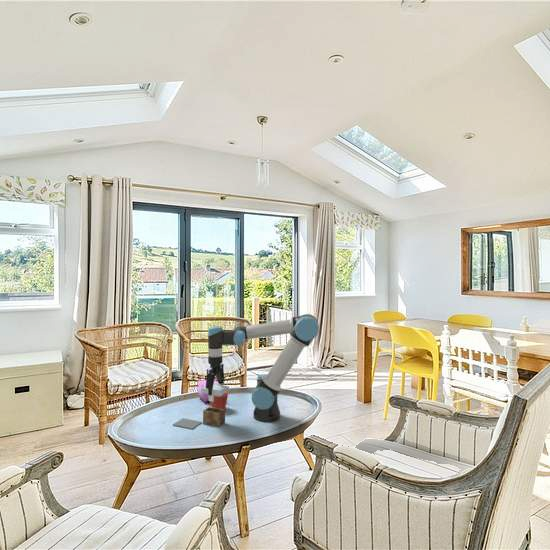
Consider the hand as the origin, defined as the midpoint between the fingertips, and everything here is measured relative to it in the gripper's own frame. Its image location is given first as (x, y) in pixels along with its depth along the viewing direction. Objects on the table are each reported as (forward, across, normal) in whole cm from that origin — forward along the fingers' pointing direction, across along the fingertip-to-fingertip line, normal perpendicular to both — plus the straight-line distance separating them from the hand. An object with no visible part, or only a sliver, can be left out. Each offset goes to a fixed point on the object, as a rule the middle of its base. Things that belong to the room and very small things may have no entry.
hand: (215, 398), depth 197 cm
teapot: (+13, -29, -22) cm, 38 cm away
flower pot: (+13, -18, -9) cm, 24 cm away
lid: (-3, 0, 0) cm, 3 cm away
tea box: (+13, 0, -1) cm, 13 cm away
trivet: (+13, +7, -13) cm, 20 cm away
